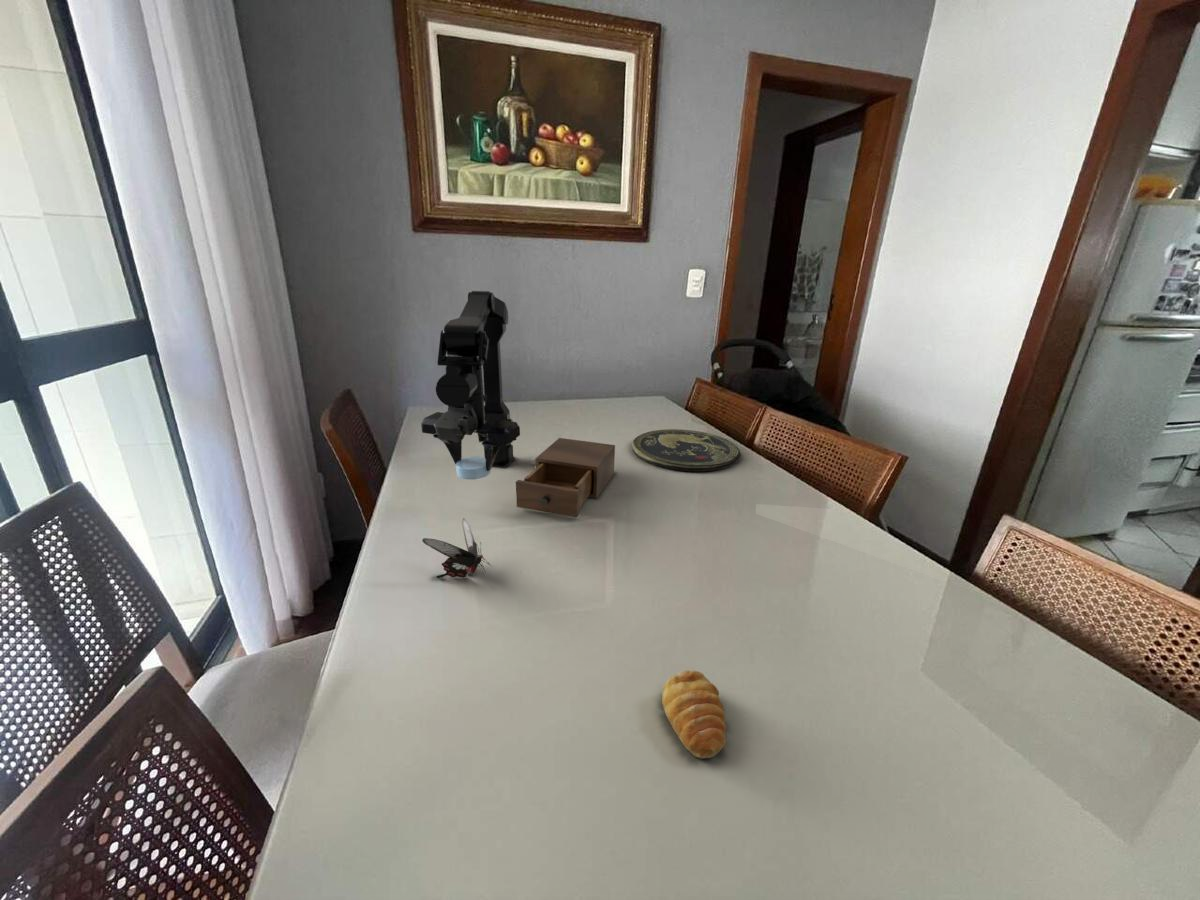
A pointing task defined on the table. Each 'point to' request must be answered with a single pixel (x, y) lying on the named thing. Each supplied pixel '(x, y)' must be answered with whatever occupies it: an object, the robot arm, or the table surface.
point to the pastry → (695, 713)
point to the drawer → (555, 489)
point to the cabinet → (582, 459)
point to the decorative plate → (686, 450)
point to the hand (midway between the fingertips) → (473, 467)
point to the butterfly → (458, 554)
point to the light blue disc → (472, 468)
